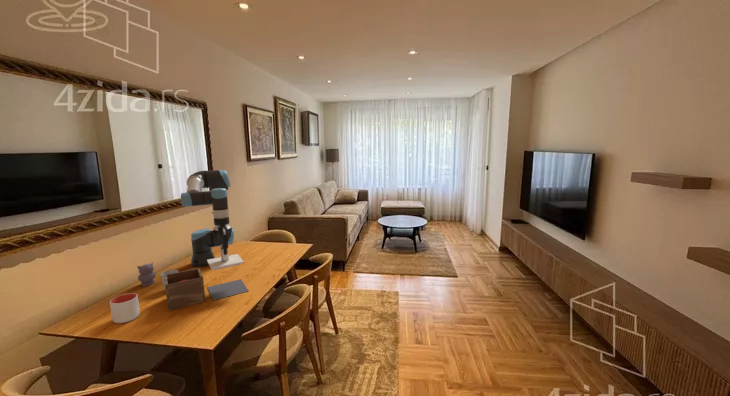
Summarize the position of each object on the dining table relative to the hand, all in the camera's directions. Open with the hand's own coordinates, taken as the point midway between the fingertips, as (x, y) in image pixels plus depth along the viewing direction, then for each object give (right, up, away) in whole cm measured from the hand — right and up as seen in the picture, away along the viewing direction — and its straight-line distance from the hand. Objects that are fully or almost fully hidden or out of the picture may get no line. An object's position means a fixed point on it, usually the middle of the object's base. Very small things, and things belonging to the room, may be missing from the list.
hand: (225, 258), depth 162 cm
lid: (0, -3, 0) cm, 3 cm away
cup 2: (-32, -18, +4) cm, 37 cm away
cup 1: (-34, -23, -25) cm, 48 cm away
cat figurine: (-51, -17, +11) cm, 55 cm away
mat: (0, -18, +3) cm, 18 cm away
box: (-16, -20, -8) cm, 27 cm away
